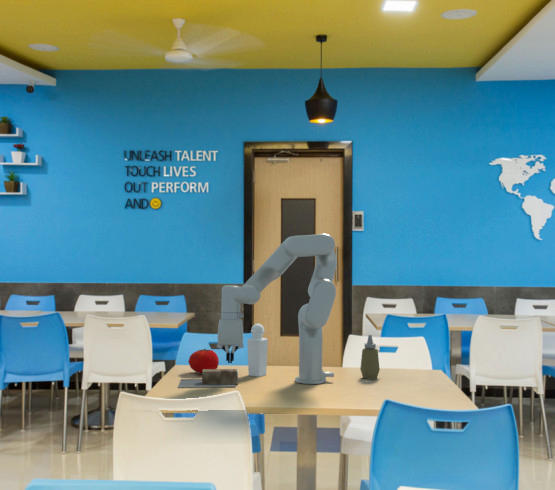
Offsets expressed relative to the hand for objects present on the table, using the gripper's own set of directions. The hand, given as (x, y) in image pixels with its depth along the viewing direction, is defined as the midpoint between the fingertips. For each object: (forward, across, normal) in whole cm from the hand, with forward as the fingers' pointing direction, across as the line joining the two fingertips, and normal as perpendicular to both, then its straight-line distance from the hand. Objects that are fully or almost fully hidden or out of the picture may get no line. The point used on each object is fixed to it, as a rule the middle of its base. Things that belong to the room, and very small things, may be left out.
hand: (229, 362), depth 232 cm
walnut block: (+6, -3, 0) cm, 6 cm away
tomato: (+9, +11, -22) cm, 26 cm away
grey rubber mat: (+8, +9, 0) cm, 12 cm away
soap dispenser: (+8, -12, -17) cm, 22 cm away
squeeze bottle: (+8, -59, -9) cm, 60 cm away
